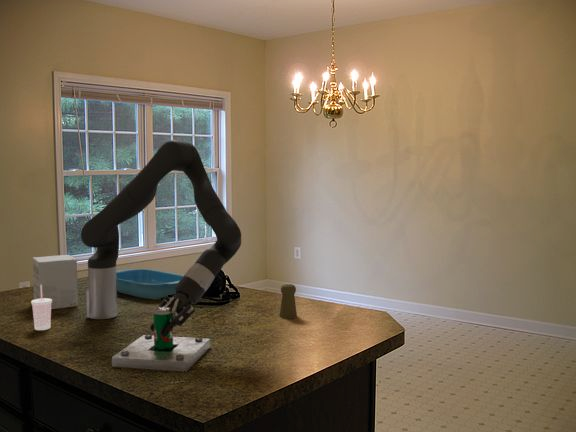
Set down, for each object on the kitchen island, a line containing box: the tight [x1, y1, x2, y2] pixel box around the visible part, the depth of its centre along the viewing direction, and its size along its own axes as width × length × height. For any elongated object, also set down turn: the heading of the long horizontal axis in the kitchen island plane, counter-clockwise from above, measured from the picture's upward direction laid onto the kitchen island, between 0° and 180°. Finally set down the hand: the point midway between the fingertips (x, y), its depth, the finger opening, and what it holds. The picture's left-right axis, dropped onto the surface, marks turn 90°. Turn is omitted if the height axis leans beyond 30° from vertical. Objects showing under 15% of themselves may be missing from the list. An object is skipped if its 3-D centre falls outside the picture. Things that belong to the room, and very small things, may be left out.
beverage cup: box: [30, 285, 52, 331], centre depth 187 cm, size 6×6×14 cm
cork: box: [279, 283, 298, 319], centre depth 203 cm, size 6×6×11 cm
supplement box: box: [32, 254, 79, 310], centre depth 218 cm, size 13×13×18 cm
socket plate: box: [111, 334, 211, 372], centre depth 161 cm, size 20×20×3 cm
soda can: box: [152, 306, 174, 352], centre depth 160 cm, size 5×5×12 cm
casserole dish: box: [116, 268, 185, 300], centre depth 240 cm, size 37×22×7 cm, turn 53°
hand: (157, 332), depth 159 cm, fingers closed on soda can, 5 cm apart
